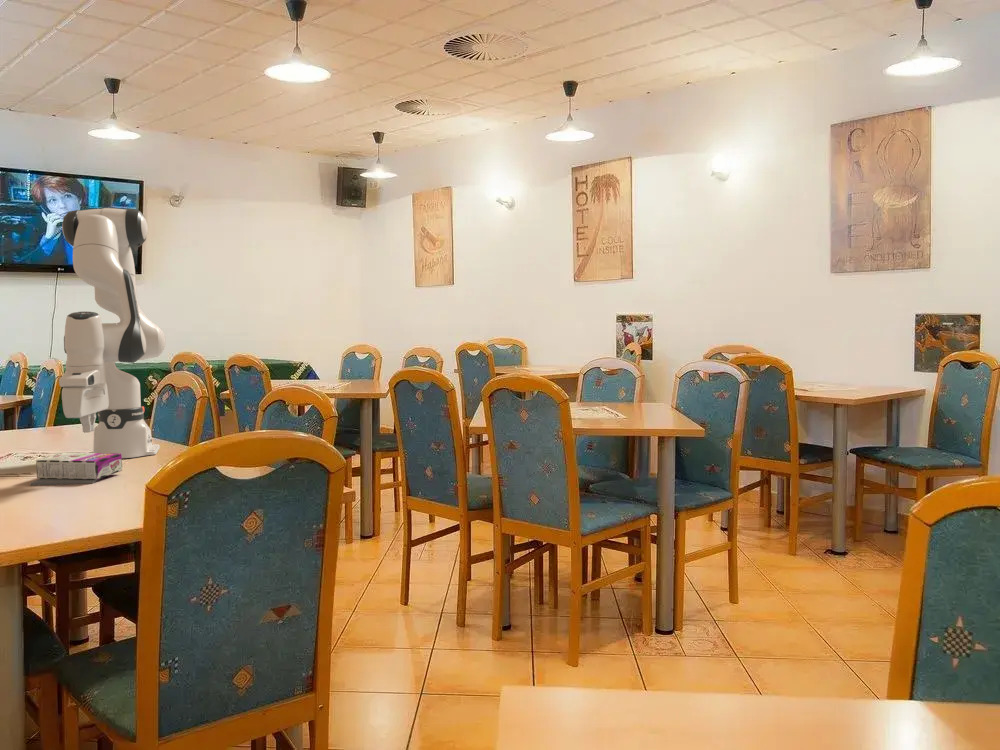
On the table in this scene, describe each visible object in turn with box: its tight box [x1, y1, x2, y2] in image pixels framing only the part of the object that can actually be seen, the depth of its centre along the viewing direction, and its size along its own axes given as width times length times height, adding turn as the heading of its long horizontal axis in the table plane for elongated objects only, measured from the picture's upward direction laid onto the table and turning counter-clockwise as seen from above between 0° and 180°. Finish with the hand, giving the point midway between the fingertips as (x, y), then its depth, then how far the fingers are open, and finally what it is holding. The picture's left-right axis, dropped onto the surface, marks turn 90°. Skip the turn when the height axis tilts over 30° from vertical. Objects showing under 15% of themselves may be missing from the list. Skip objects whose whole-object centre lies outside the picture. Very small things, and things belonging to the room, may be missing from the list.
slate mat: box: [30, 476, 107, 486], centre depth 207 cm, size 11×14×1 cm
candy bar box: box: [35, 451, 123, 480], centre depth 209 cm, size 11×5×16 cm
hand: (88, 431), depth 206 cm, fingers closed
